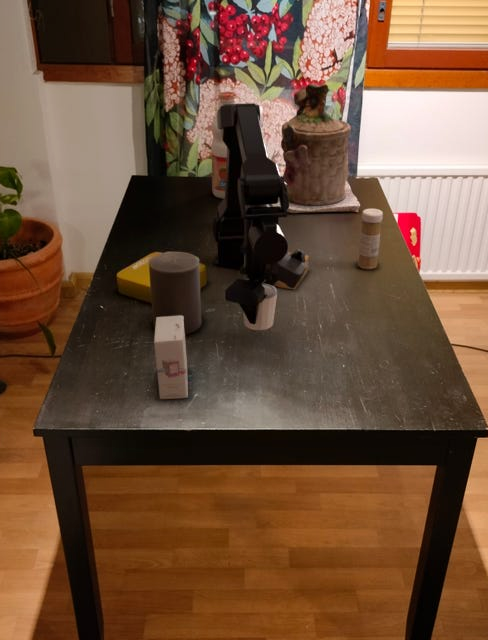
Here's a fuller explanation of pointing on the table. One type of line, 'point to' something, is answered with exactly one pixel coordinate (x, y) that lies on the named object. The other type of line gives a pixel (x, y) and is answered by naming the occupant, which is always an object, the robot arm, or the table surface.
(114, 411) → the table surface
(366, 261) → the sprinkles bottle
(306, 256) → the maple block
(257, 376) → the table surface
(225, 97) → the fruit juice
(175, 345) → the ink box
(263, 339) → the table surface
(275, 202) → the robot arm
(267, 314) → the shot glass
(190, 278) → the pillar candle
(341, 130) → the cookie jar
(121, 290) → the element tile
